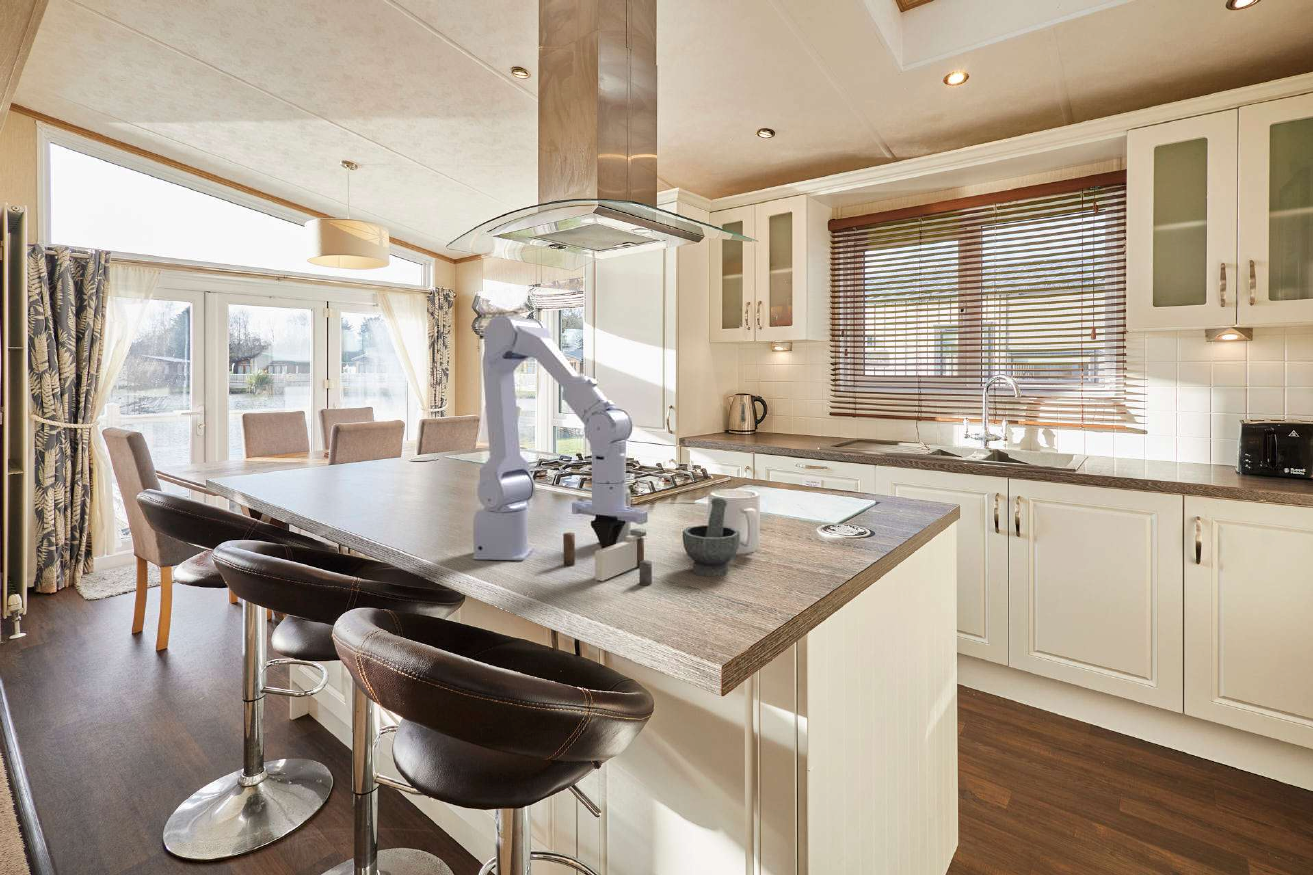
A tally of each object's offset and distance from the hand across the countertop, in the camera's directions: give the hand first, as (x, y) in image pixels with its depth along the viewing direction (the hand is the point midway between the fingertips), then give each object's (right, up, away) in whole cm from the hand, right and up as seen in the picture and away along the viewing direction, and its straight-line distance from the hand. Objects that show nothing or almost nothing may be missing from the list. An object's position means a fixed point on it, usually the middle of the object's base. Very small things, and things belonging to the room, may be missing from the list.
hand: (608, 559), depth 108 cm
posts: (-1, -2, 0) cm, 2 cm away
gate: (+2, -2, +1) cm, 3 cm away
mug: (+24, -1, +17) cm, 29 cm away
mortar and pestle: (+18, -2, +3) cm, 18 cm away
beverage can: (0, -1, +19) cm, 19 cm away
